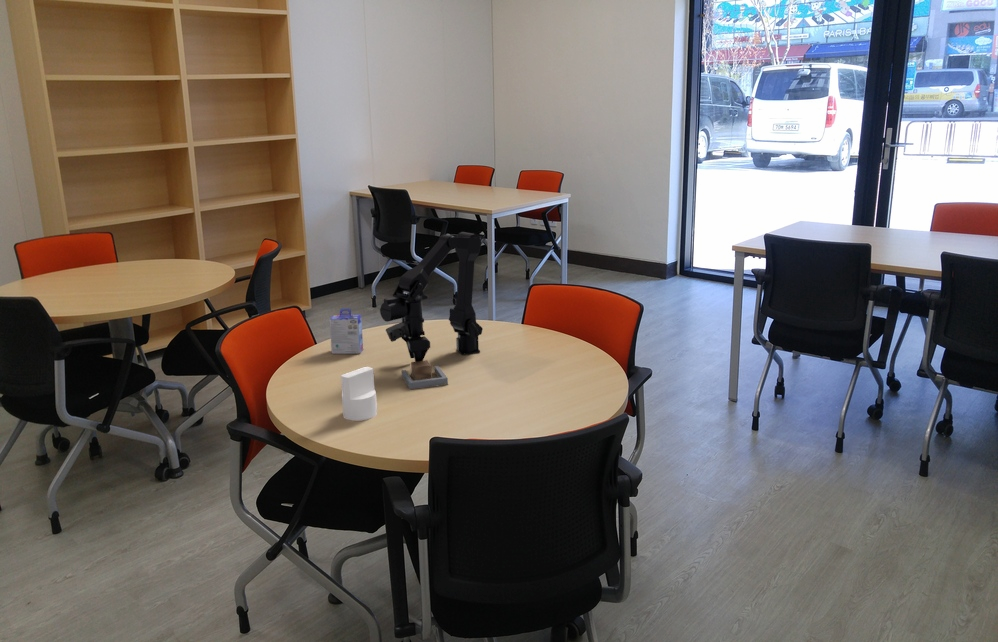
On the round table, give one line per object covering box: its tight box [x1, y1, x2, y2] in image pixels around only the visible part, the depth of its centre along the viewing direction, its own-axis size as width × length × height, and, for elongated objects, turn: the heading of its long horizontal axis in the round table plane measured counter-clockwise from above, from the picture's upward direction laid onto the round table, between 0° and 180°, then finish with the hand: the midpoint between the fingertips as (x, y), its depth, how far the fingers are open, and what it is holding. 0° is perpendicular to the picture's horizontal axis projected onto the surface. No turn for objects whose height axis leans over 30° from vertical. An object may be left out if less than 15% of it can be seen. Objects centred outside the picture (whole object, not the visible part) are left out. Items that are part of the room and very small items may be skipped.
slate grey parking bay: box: [401, 365, 449, 390], centre depth 226 cm, size 11×11×2 cm
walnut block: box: [410, 359, 432, 381], centre depth 230 cm, size 5×5×4 cm
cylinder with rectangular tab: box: [340, 366, 378, 422], centre depth 202 cm, size 9×9×12 cm
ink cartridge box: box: [328, 308, 364, 355], centre depth 252 cm, size 10×6×14 cm, turn 89°
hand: (415, 362), depth 237 cm, fingers open, 9 cm apart
